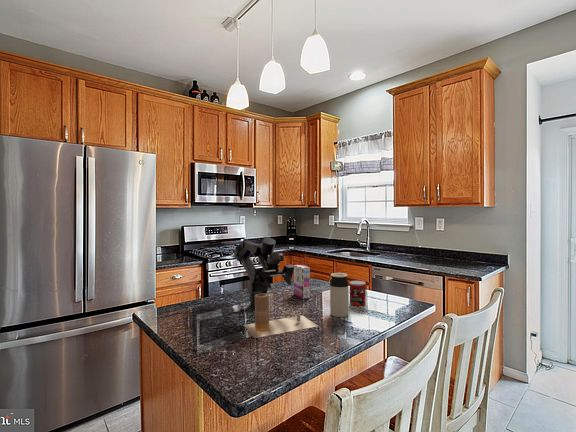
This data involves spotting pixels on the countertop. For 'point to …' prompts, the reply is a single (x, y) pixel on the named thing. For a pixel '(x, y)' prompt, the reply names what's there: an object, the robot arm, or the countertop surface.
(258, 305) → the sleeve
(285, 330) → the pin board
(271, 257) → the robot arm
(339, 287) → the travel mug
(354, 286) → the canned food
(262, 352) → the countertop surface
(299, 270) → the candy bar box
